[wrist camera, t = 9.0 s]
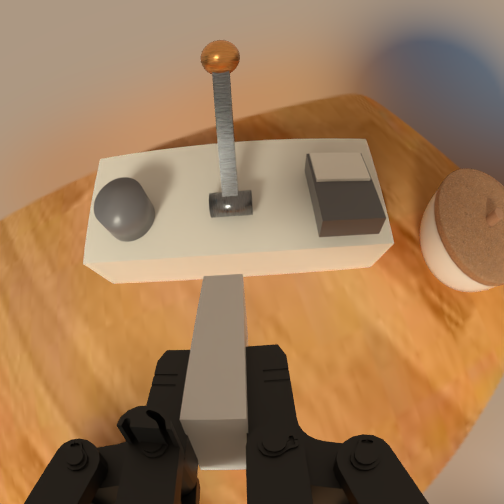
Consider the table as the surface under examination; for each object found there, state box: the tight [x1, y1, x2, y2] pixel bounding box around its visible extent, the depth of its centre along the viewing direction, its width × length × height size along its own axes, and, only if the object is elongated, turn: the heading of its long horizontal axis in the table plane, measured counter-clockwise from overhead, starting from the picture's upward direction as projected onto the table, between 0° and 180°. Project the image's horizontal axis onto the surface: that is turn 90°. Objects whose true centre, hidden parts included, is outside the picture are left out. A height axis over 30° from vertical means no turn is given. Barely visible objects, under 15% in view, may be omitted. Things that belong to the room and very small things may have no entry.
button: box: [94, 177, 155, 242], centre depth 23 cm, size 4×4×3 cm
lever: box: [201, 40, 253, 218], centre depth 21 cm, size 3×3×13 cm
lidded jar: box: [419, 169, 504, 292], centre depth 24 cm, size 11×11×9 cm
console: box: [83, 138, 394, 284], centre depth 27 cm, size 24×10×6 cm, turn 94°
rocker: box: [305, 153, 386, 237], centre depth 22 cm, size 4×6×2 cm
